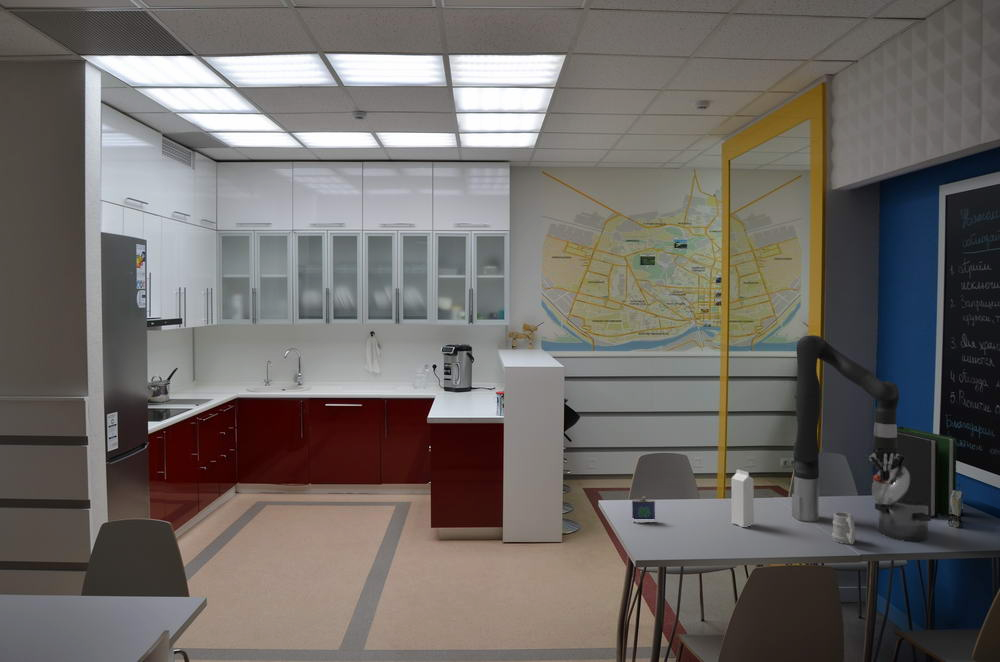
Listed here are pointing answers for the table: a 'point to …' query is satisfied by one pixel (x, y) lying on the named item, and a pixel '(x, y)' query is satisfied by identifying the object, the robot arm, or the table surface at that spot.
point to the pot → (904, 520)
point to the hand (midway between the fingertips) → (885, 480)
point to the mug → (843, 528)
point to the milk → (742, 499)
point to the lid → (891, 485)
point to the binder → (929, 467)
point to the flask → (643, 509)
